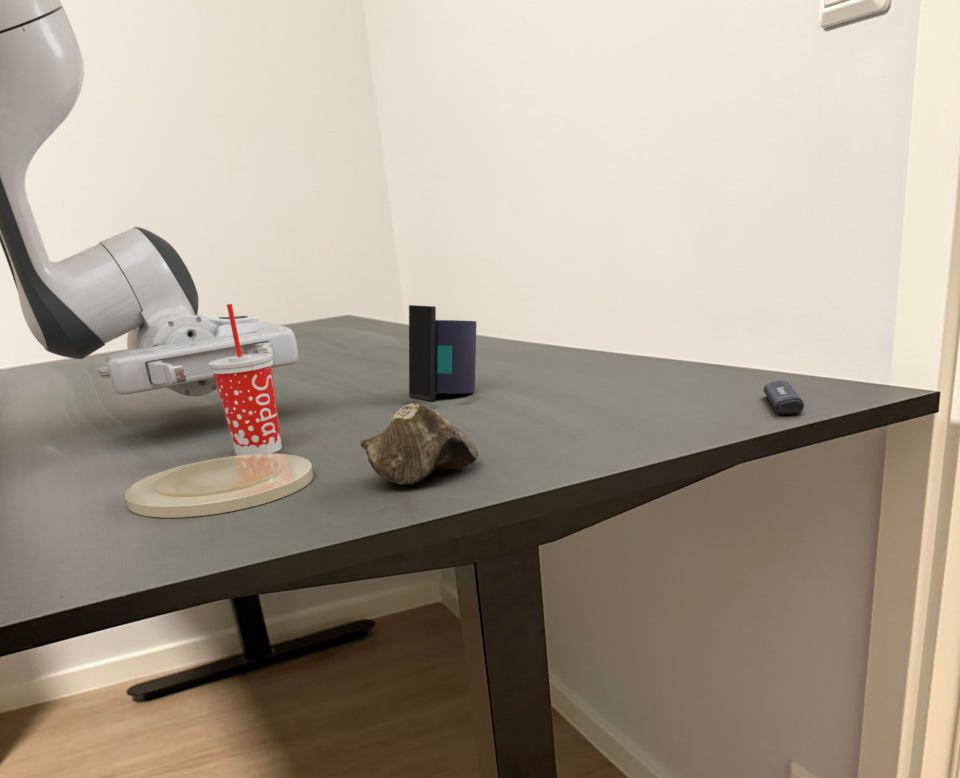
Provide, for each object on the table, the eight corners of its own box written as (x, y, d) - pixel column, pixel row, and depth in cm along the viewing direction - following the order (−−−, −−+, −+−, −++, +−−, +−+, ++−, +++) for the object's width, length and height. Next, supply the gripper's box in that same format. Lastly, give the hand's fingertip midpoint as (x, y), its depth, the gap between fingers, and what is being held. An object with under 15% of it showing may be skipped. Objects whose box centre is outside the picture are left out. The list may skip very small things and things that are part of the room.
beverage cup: (242, 462, 92) (210, 309, 86) (218, 453, 96) (186, 308, 90) (299, 448, 95) (272, 300, 89) (273, 440, 99) (246, 299, 94)
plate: (98, 525, 77) (93, 510, 76) (163, 472, 91) (159, 459, 91) (293, 508, 76) (290, 492, 75) (327, 457, 90) (325, 443, 90)
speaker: (417, 402, 109) (413, 306, 105) (408, 397, 114) (405, 305, 110) (482, 399, 110) (480, 304, 107) (470, 394, 116) (469, 303, 112)
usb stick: (762, 396, 95) (762, 380, 94) (790, 394, 94) (790, 378, 94) (774, 417, 86) (775, 400, 86) (805, 415, 86) (805, 398, 85)
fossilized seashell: (451, 426, 85) (350, 467, 82) (451, 368, 80) (343, 410, 77) (495, 481, 82) (392, 526, 79) (499, 424, 76) (388, 470, 73)
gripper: (87, 341, 103) (111, 351, 92) (267, 313, 112) (309, 318, 101) (102, 400, 106) (128, 416, 95) (277, 368, 114) (319, 379, 103)
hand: (223, 365), depth 98 cm, fingers open, 8 cm apart
